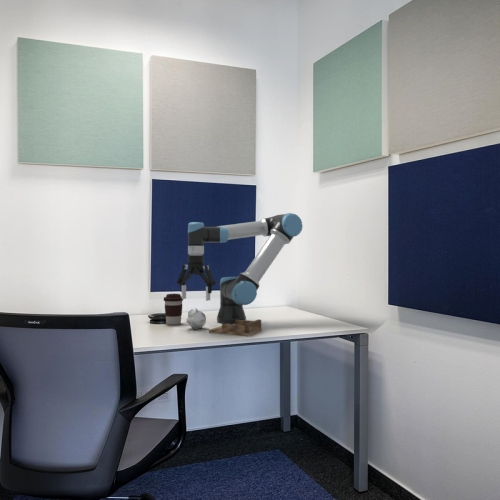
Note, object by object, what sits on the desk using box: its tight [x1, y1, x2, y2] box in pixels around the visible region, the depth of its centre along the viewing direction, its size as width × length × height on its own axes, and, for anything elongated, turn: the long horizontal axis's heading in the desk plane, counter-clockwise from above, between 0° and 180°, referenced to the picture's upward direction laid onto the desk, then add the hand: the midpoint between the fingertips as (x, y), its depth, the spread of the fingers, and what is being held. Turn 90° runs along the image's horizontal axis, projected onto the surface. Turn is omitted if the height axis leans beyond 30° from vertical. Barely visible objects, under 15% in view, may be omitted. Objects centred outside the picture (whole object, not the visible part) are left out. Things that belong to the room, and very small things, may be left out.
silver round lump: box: [185, 307, 207, 330], centre depth 225 cm, size 9×10×10 cm
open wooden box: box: [208, 319, 262, 337], centre depth 218 cm, size 20×14×5 cm
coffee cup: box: [163, 293, 184, 326], centre depth 239 cm, size 10×10×15 cm
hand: (195, 299), depth 224 cm, fingers open, 13 cm apart
